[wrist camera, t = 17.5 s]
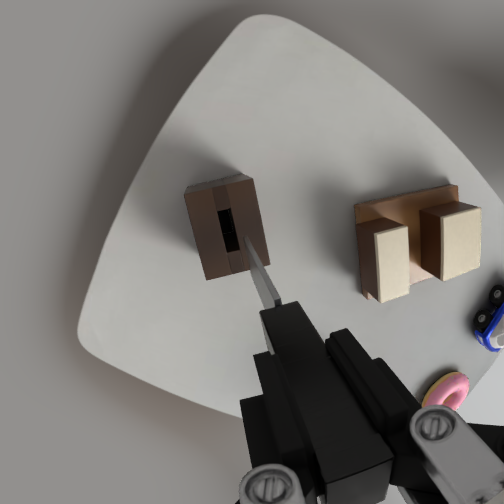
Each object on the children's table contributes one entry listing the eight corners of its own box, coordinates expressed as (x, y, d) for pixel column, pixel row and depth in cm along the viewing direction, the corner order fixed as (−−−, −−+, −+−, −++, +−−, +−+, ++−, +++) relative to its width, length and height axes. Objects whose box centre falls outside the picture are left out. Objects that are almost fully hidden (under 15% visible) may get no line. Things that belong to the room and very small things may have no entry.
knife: (233, 238, 22) (323, 477, 5) (256, 233, 22) (397, 448, 5) (242, 278, 23) (328, 525, 6) (264, 273, 23) (384, 504, 6)
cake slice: (355, 224, 36) (376, 234, 31) (384, 216, 36) (407, 226, 31) (361, 286, 38) (380, 303, 34) (388, 277, 39) (409, 293, 34)
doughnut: (409, 403, 49) (420, 417, 45) (451, 359, 48) (464, 371, 44) (430, 417, 53) (440, 430, 49) (468, 379, 51) (479, 390, 47)
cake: (418, 209, 37) (443, 218, 32) (456, 200, 37) (481, 207, 32) (420, 268, 39) (442, 281, 34) (456, 255, 40) (479, 266, 35)
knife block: (187, 186, 33) (183, 194, 27) (243, 173, 34) (252, 178, 27) (205, 257, 36) (206, 280, 29) (258, 244, 36) (270, 264, 30)
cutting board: (353, 204, 37) (359, 206, 35) (451, 184, 38) (458, 185, 37) (362, 295, 41) (367, 299, 39) (452, 264, 42) (458, 267, 40)
